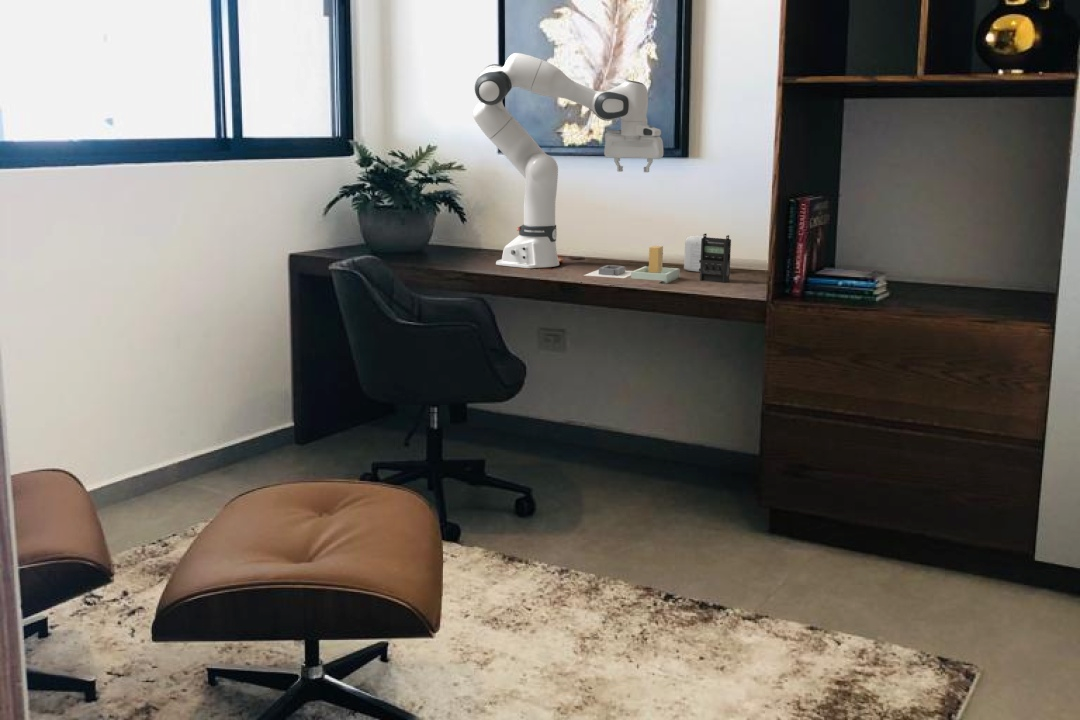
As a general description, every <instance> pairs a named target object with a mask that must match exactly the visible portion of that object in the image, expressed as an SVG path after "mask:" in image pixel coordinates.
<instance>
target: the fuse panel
mask: <svg viewBox="0 0 1080 720" xmlns="http://www.w3.org/2000/svg"><path fill="white" fill-rule="evenodd" d="M632 271H633V270H626V266H623V265H615V264H614V265H613V264H610V265H609V264H607V265H603V266H601V267H599V268H598V269H596V270H593V271H591V272H589V273H586V274H583V276H586V277H600V278H615V279H626V278H628V277H631V272H632Z"/></svg>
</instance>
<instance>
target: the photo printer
mask: <svg viewBox="0 0 1080 720" xmlns="http://www.w3.org/2000/svg"><path fill="white" fill-rule="evenodd" d="M706 237H708V238H711V237H709V236H706ZM701 238H703V234H702V235H701V234H696V235H690V236H687V237H686V239H685V242H684V263H683V269H684V270H685V271H687V272H689V271H690V272H697V273H700V271H699V268H700V263H699V260H701Z"/></svg>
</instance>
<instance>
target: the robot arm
mask: <svg viewBox="0 0 1080 720" xmlns="http://www.w3.org/2000/svg"><path fill="white" fill-rule="evenodd" d="M512 88H520V89H524V90H526V91H528V92H530V93H533V94H536V95H539V96H543V97H547V98H561V99H564V100H569V101H571V102H574V103H576V104H578V105H581V106H583V107H586V108H587V109H590V111H591V112H592V113H593V114H594V115H595V116H596V117H597V118H598V119H600V120H601V121H602V120H603V121H606V122H607V121H613V120H615V119H618V118H619V119H620V129H610V130H608V131H606V133H605V134H604V142H605V143H604V151H603V154H604V156H605V158H610V159H611V158H612V159H614V160H613V161H614V163H615V166H616V168H617V169H616V171H617V172H618V173H619V172H621V173H622V172H624V169H623V168H624V166H623V165H621V164H620V161H621V159H646V163H647V164H646V165H645V166H643V173H650V167H651V165H652V164H653V162H654V160H657V159H658V160H659V159H663V156H664V142H663V139H662V137H661V135H662V130H661V129H659V128H658V127H657V128H656V127H654V126H652V125H648V118H647V112H648V108H649V103H648V102H649V99H648V98H649V96H648V88H647V86H646V85H645V84H644V83H642V82H639V81H634V80H629V79H627V80H624V81H623V82H621V83H620V84H618V85H617V86H615V87H613V88H609V89H607V90H596V89H592V88H590V87H588V86H585V85H583V84H581V83H579V82H576V81H574V80H573V79H571V78H570V77H568V76H567V74H565V72H563V70H561V69H559V68H558V67H557V66H555V65H554V64H552V63H550V62H549V61H546V60H545V59H544V60H543V59H542V58H539V57H536V56H532V55H529V54H526V53H521V52H514V53H512V54H510V55H509V56H508V57H507V59H506V61H505V62H504V65H501V64H497V63H496V64H495V63H494V64H489V65H488V66H485V67H484V68H483V70H481V72H480V73H479V74H478V76H477V78H476V81H475V84H474V93H475V96H476V98H477V99H478V101H479V102H478V103H477V104H476V105H475V107H474V108H473V112H472V116H473V119H474V121H475V122H476V124H477V126H478V127H479V128H480V130H481V131H482V132H483V133H484V134H485V136H486V137H487V138H488V139H489V140H490V141H491V142H492V143H493V145H494V146H495V147H496V148H497V149H499V151H500V152H501V153H502V154H503V155H504V156H505V157H506V159H507V160H508V161H509V162H510V163H511V164H512V165H513V166H514V167H515V169H517V171H518V172H519V173H520V174H521V175H522V176H523V177H524V179H525V183H524V184H525V185H524V186H525V188H524V200H523V224H521V225H520V226H518V227H517V230H516V231H517V232H518V235H517V236H516V237H515V238H513V239H512V240H511V241H510V242H509V243H507V244H506V245H505V246H504V247H503V251H502V256H501V259H498V260H496V262H495V265H496V266H504V267H512V268H513V267H514V268H522V269H536V268H552V267H558V266H560V261H559V257H558V252H557V243H556V242H557V235H558V233H557V224H556V200H557V190H558V178H559V166H558V164H557V161H556V159H555V158H554V157H553V156H551V155H549V154H547V153H546V152H545V151H544V150H543V149H542V148H541V147H540V146H539V144H538V143H537V142H536V140H534V139H533V137H532V136H531V135H530V134H529V132H528V131H527V130H526V129H525V128H524V127H523V126H522V125H521V124H520V122H519V121H518V120H517V119H516V118H515V117H514V116H513V115H512V114H511V113H510V112H509V111H508V109H507V108H506V107H505V106H504V103H503V100H504V99H505V98H506V97H507V95H508V94H509V92H510V91H511V90H512Z"/></svg>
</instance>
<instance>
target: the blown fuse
mask: <svg viewBox="0 0 1080 720" xmlns="http://www.w3.org/2000/svg"><path fill="white" fill-rule="evenodd" d="M648 248H649V251H648V254H649V256H648V267H649V272H650V273H660V274H661V271H662V267H663V255H664V254H663V253H664V245H653V246H652V245H651V246H650V247H648Z"/></svg>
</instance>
